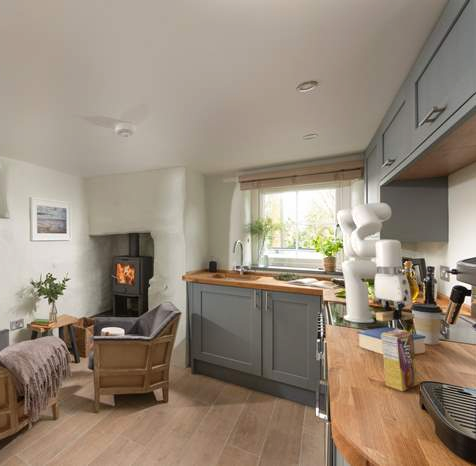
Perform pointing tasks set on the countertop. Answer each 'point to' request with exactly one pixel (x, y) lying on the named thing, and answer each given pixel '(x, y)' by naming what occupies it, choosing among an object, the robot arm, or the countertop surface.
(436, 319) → the coffee cup
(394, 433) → the countertop surface
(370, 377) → the countertop surface
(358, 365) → the countertop surface
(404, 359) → the candy box
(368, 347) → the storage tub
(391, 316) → the wooden block
